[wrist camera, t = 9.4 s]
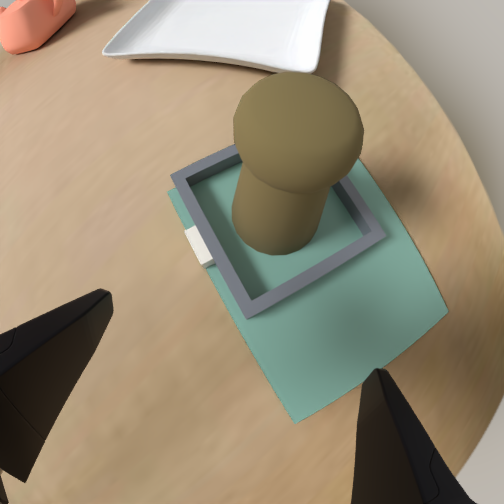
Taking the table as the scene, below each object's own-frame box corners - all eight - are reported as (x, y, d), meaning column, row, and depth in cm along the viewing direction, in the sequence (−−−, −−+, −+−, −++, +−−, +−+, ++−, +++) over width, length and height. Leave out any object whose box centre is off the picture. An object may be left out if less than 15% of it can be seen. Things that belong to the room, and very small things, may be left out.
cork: (320, 179, 21) (375, 68, 10) (317, 261, 19) (394, 190, 9) (237, 168, 21) (234, 45, 10) (225, 249, 19) (203, 162, 9)
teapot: (53, 51, 26) (25, 0, 15) (-6, 64, 26) (-31, 29, 16) (99, 7, 28) (82, -41, 18) (32, 22, 29) (14, -13, 19)
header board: (446, 311, 19) (459, 310, 17) (292, 423, 17) (297, 431, 15) (325, 119, 22) (330, 107, 21) (165, 191, 21) (159, 180, 19)
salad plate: (105, 75, 24) (95, 53, 21) (183, -11, 29) (180, -29, 26) (309, 100, 23) (317, 73, 20) (328, 5, 28) (333, -13, 25)
